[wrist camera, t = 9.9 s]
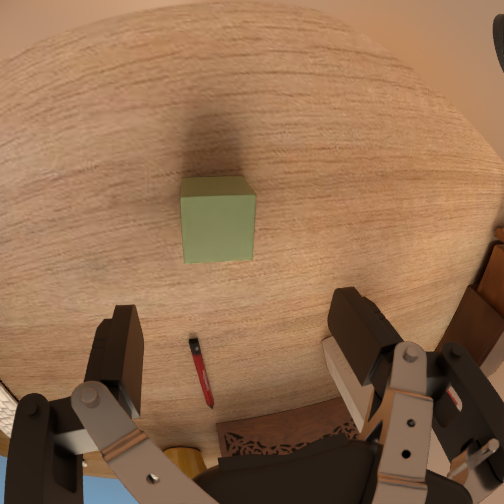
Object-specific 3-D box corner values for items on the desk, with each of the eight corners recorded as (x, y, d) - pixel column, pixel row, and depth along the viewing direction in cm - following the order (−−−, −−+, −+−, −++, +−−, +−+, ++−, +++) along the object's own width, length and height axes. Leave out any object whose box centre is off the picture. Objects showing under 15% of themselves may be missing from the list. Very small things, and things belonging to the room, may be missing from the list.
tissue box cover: (225, 455, 44) (235, 500, 36) (216, 423, 37) (226, 483, 29) (354, 424, 48) (373, 463, 40) (374, 385, 41) (401, 432, 33)
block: (181, 177, 20) (179, 197, 16) (243, 175, 21) (256, 194, 17) (184, 234, 22) (184, 264, 19) (241, 231, 23) (253, 260, 19)
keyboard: (88, 462, 41) (88, 471, 39) (45, 456, 39) (44, 465, 37) (-54, 299, 19) (-62, 311, 17) (-87, 304, 17) (-94, 314, 15)
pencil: (208, 406, 35) (209, 412, 34) (189, 337, 28) (189, 344, 27) (215, 406, 35) (216, 412, 34) (197, 336, 28) (198, 343, 27)
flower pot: (197, 464, 45) (203, 506, 37) (146, 457, 41) (149, 502, 33) (220, 446, 42) (230, 495, 34) (163, 438, 38) (167, 492, 29)
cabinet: (468, 285, 35) (507, 324, 26) (503, 276, 37) (536, 306, 29) (430, 357, 42) (458, 395, 34) (469, 340, 45) (495, 371, 36)
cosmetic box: (356, 353, 35) (397, 426, 25) (326, 367, 35) (363, 443, 25) (353, 324, 32) (404, 404, 22) (320, 339, 32) (364, 425, 21)
